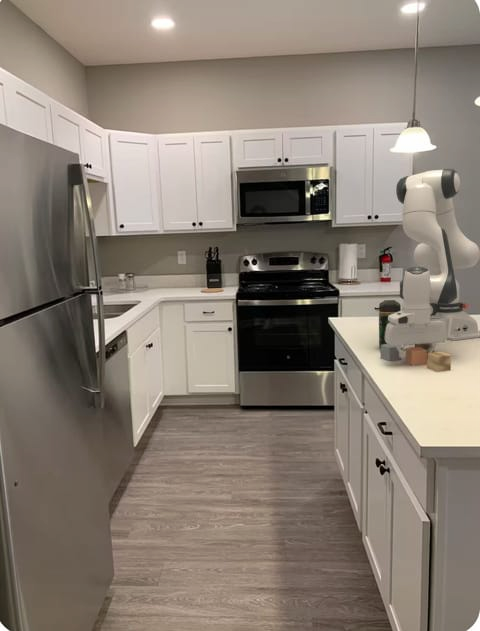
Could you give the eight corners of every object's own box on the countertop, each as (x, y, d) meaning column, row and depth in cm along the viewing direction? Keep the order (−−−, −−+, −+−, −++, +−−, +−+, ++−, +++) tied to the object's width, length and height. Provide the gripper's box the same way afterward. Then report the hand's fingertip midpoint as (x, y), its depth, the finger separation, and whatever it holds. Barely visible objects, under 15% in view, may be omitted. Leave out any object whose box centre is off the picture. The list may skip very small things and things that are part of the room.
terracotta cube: (419, 361, 167) (420, 346, 166) (426, 364, 162) (426, 350, 161) (405, 361, 167) (406, 347, 166) (412, 365, 162) (412, 351, 161)
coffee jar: (378, 345, 191) (378, 298, 188) (399, 345, 189) (400, 298, 185) (378, 351, 182) (378, 302, 178) (400, 352, 180) (401, 302, 176)
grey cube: (392, 356, 174) (392, 343, 173) (401, 360, 170) (401, 346, 169) (380, 358, 173) (380, 344, 172) (389, 361, 168) (389, 347, 167)
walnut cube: (428, 355, 174) (429, 341, 173) (433, 358, 169) (433, 344, 168) (414, 355, 175) (414, 341, 174) (418, 359, 170) (419, 345, 169)
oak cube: (440, 366, 160) (440, 351, 159) (450, 370, 155) (451, 355, 154) (427, 368, 159) (427, 353, 158) (437, 372, 154) (437, 356, 153)
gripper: (441, 313, 166) (440, 352, 168) (383, 316, 164) (383, 355, 167) (451, 316, 159) (449, 356, 162) (390, 319, 158) (390, 360, 160)
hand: (415, 356), depth 164 cm, fingers open, 8 cm apart
